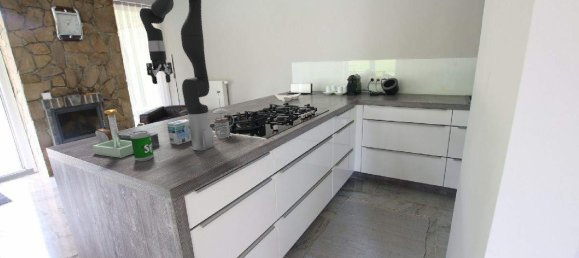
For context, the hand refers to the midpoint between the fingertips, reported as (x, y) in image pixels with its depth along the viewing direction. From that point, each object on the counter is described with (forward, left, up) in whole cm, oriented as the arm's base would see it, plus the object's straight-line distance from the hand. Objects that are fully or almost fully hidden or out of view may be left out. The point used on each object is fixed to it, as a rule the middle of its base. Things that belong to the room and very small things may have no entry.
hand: (162, 83), depth 143 cm
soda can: (-13, +28, -30) cm, 43 cm away
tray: (+8, +25, -30) cm, 40 cm away
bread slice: (+26, +18, -30) cm, 44 cm away
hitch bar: (+8, +14, -30) cm, 34 cm away
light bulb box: (-10, +2, -30) cm, 32 cm away
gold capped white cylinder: (+8, +24, -29) cm, 39 cm away
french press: (-26, -13, -30) cm, 42 cm away
